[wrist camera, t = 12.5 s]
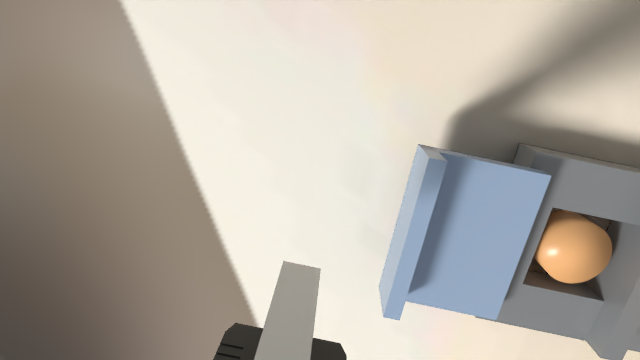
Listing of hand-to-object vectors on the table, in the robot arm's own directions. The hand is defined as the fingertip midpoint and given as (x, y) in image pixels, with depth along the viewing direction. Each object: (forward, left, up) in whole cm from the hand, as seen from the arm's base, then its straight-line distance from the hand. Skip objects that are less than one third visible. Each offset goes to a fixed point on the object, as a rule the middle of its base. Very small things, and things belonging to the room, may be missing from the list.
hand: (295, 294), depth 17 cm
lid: (0, +9, -11) cm, 14 cm away
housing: (0, +21, -13) cm, 25 cm away
